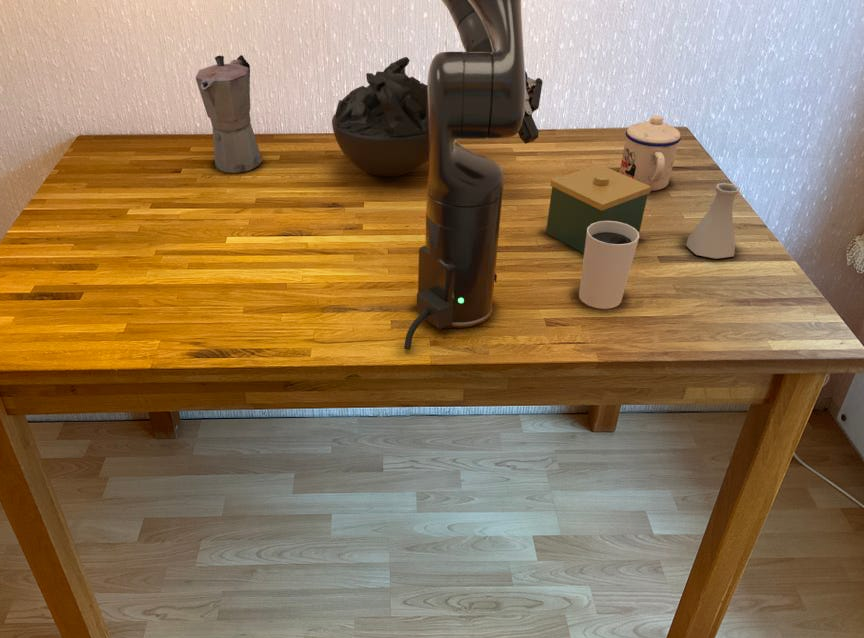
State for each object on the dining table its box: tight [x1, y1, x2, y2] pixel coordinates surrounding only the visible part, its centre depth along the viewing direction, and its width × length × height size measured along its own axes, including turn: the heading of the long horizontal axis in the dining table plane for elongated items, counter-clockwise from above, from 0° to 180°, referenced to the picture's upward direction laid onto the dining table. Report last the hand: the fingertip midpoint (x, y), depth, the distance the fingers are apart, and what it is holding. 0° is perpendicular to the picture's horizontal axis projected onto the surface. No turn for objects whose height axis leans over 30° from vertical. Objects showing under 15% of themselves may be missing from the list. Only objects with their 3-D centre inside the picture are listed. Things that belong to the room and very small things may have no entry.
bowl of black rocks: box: [331, 56, 429, 178], centre depth 131 cm, size 20×20×19 cm
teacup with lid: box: [618, 114, 682, 192], centre depth 127 cm, size 12×9×12 cm
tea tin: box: [545, 163, 652, 255], centre depth 113 cm, size 10×10×10 cm
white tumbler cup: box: [578, 221, 640, 310], centre depth 99 cm, size 7×7×10 cm
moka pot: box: [195, 54, 263, 174], centre depth 134 cm, size 10×15×20 cm, turn 163°
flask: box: [685, 182, 740, 260], centre depth 110 cm, size 7×7×10 cm
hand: (532, 140), depth 119 cm, fingers closed
